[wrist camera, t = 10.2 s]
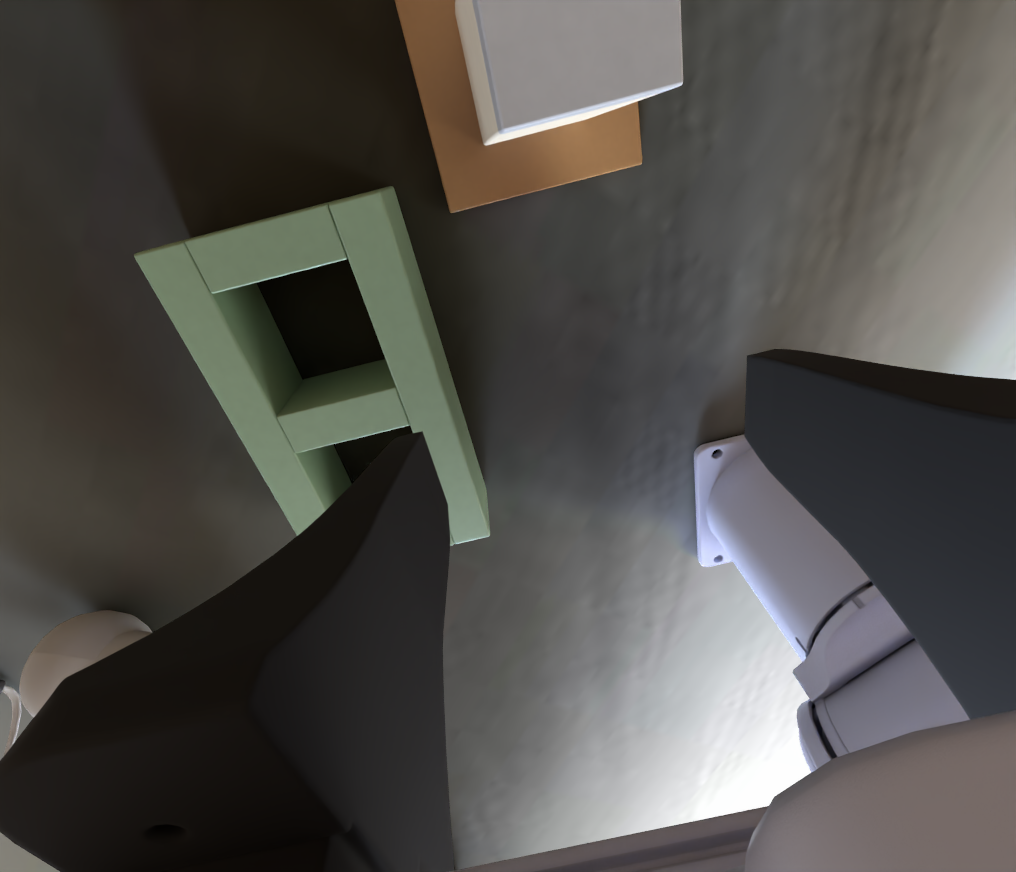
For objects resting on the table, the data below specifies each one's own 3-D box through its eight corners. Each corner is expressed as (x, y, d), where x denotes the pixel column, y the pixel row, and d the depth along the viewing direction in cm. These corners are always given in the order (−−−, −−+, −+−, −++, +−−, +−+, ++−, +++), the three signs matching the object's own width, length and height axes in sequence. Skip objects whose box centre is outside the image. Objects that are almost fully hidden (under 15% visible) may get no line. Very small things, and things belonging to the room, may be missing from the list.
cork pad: (617, -107, 14) (622, -115, 14) (638, 163, 18) (643, 164, 17) (383, -42, 14) (382, -49, 14) (450, 212, 18) (450, 213, 17)
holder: (393, 185, 17) (379, 189, 14) (486, 489, 24) (490, 536, 21) (188, 238, 17) (131, 254, 14) (337, 524, 24) (320, 577, 21)
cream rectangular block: (571, -22, 15) (675, -193, 8) (587, 119, 16) (684, 84, 9) (454, 10, 15) (450, -130, 8) (483, 146, 16) (502, 132, 9)
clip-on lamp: (75, 691, 32) (329, 719, 30) (-21, 805, 27) (275, 850, 25) (-53, 576, 26) (260, 600, 23) (-212, 699, 21) (168, 746, 18)
